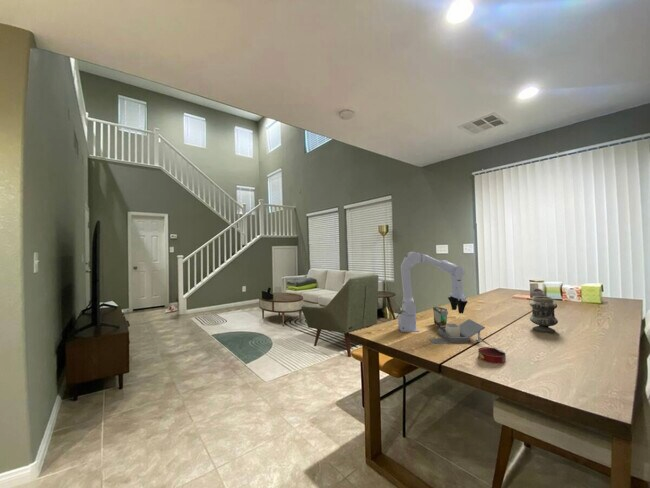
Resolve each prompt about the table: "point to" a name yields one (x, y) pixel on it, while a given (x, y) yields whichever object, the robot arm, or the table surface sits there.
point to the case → (463, 332)
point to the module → (453, 330)
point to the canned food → (491, 354)
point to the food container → (440, 316)
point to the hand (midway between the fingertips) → (457, 311)
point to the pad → (438, 340)
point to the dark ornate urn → (543, 313)
